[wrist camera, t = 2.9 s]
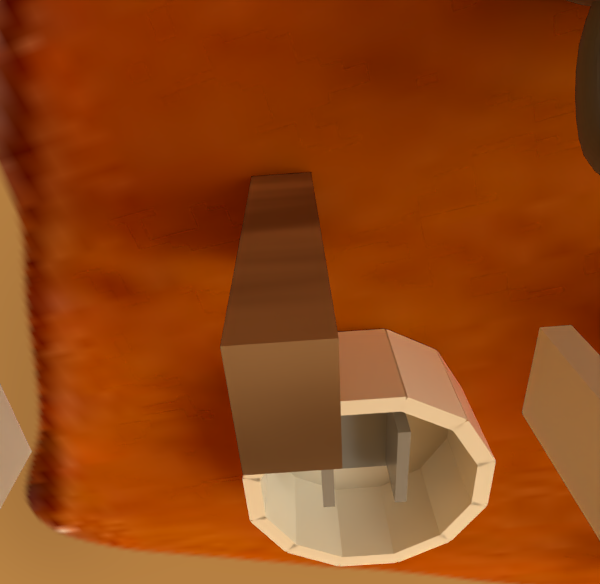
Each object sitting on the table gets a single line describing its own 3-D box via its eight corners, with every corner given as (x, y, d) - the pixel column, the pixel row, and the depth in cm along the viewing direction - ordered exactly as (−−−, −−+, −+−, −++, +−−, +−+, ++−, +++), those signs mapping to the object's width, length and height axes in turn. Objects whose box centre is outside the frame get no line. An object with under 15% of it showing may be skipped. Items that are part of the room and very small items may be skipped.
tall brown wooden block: (251, 176, 21) (219, 346, 10) (310, 172, 21) (338, 338, 10) (261, 261, 23) (242, 475, 12) (315, 257, 23) (342, 468, 12)
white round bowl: (238, 338, 25) (229, 408, 21) (470, 322, 25) (509, 389, 21) (262, 491, 31) (259, 571, 26) (449, 479, 31) (477, 557, 26)
